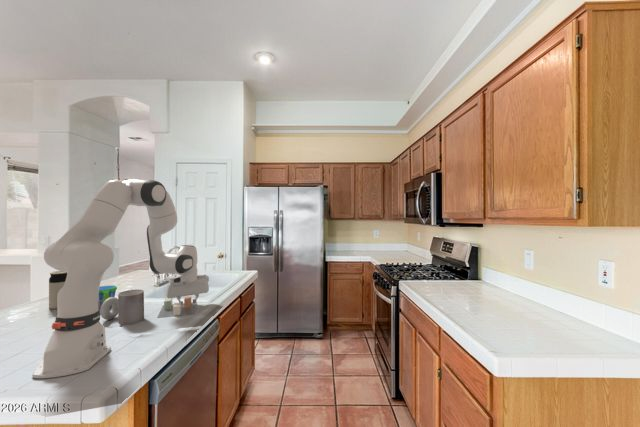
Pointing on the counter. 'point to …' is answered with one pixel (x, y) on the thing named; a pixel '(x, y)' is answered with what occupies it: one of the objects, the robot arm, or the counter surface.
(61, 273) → the travel mug
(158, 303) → the counter surface
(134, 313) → the pillar candle
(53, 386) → the counter surface
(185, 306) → the terracotta brick
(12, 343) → the counter surface
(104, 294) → the snack cup
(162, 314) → the baseplate
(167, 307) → the sage brick
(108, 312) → the donut
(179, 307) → the cream brick
